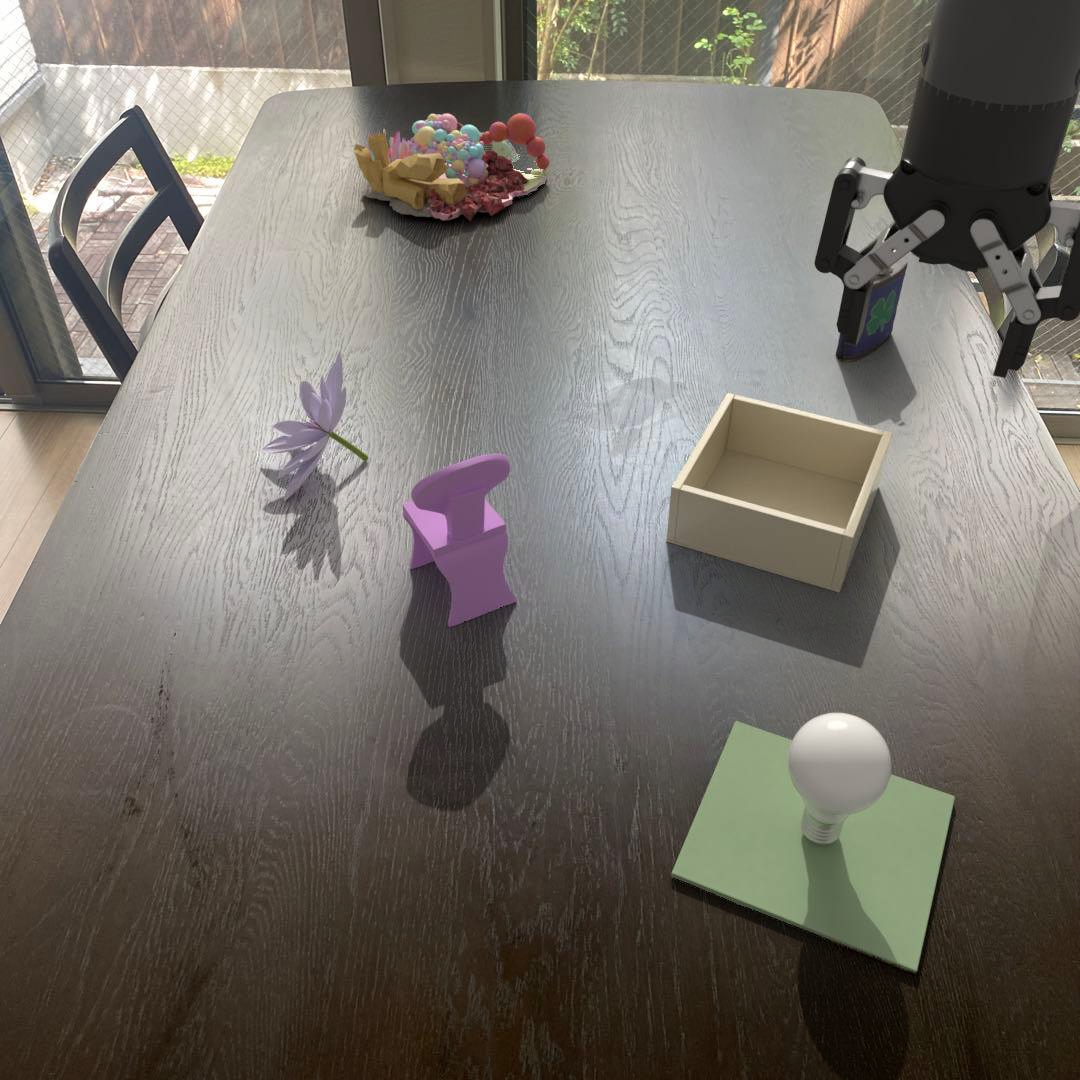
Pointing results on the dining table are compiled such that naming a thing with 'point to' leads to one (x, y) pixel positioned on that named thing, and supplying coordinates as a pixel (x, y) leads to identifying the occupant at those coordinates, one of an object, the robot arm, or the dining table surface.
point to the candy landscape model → (451, 167)
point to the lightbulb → (837, 771)
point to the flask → (877, 314)
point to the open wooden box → (778, 490)
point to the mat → (817, 852)
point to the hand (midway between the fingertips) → (925, 354)
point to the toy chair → (463, 534)
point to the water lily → (313, 427)
